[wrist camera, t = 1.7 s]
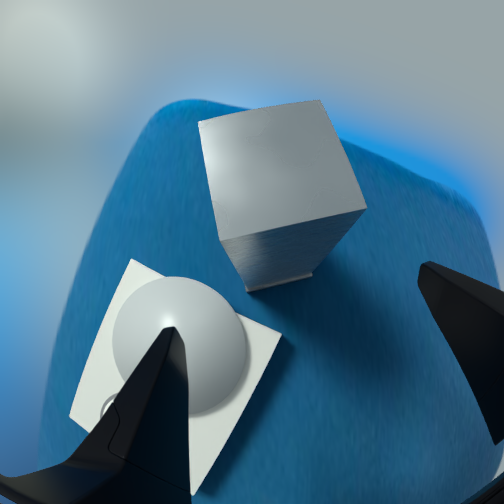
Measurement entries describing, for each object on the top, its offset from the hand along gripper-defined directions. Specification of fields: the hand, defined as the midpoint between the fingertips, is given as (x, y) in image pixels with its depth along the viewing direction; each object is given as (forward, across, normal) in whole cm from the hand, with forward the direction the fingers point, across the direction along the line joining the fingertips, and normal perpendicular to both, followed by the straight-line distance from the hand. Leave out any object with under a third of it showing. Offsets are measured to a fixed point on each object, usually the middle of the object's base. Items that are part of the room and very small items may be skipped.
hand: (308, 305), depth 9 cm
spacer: (+11, 0, +5) cm, 12 cm away
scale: (+5, +10, +10) cm, 15 cm away
